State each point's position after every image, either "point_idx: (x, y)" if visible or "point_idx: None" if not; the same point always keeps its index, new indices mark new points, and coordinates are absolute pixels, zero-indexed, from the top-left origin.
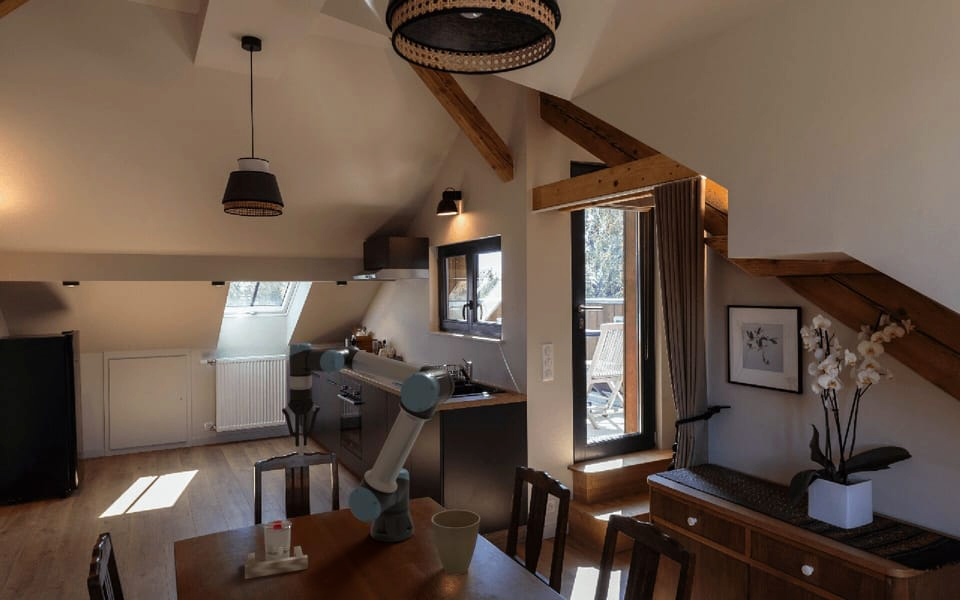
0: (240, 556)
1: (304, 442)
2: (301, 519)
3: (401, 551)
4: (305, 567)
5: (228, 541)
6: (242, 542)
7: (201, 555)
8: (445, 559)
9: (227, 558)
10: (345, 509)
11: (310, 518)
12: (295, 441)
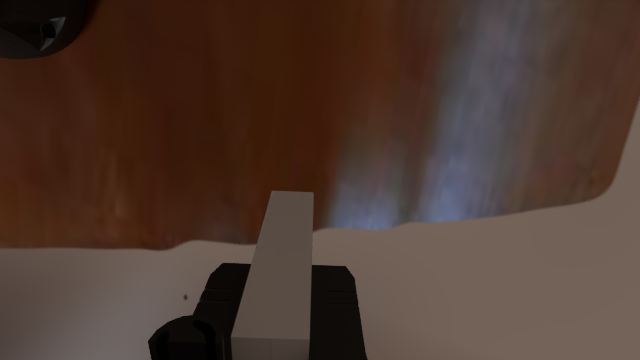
0: (508, 7)
1: (235, 291)
2: None
3: None
4: None
5: (507, 144)
6: (475, 120)
7: (601, 69)
8: None
9: (546, 8)
10: (161, 248)
11: None
12: (358, 321)
